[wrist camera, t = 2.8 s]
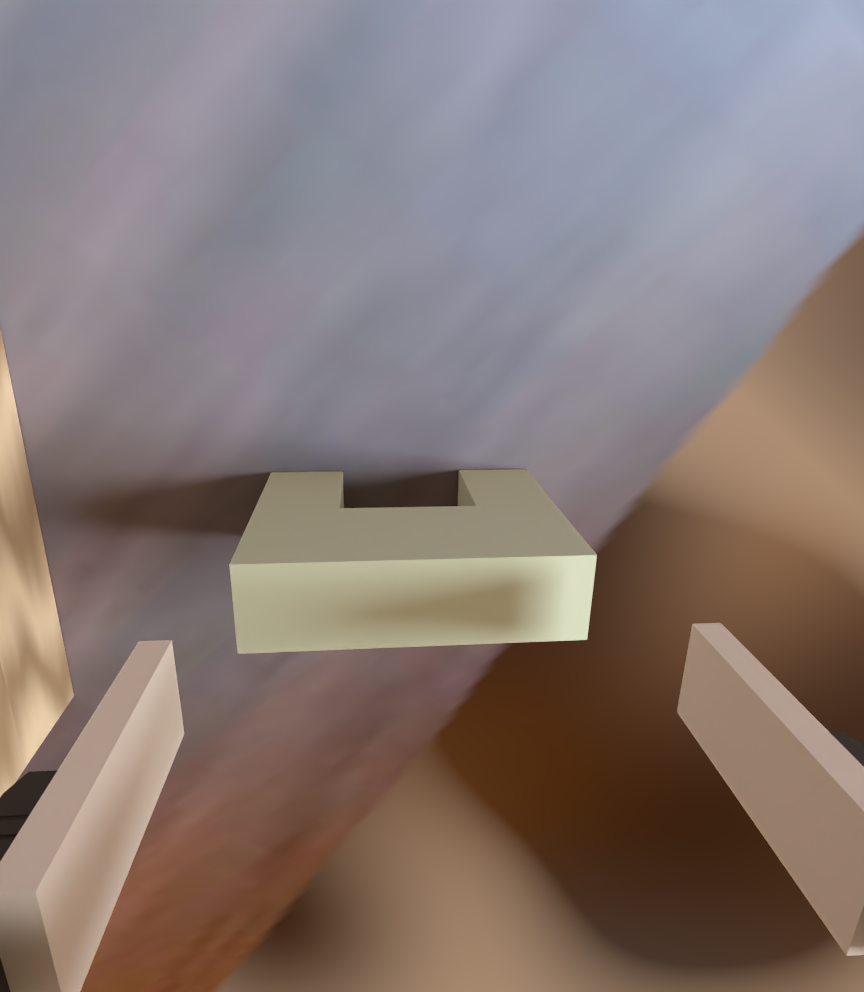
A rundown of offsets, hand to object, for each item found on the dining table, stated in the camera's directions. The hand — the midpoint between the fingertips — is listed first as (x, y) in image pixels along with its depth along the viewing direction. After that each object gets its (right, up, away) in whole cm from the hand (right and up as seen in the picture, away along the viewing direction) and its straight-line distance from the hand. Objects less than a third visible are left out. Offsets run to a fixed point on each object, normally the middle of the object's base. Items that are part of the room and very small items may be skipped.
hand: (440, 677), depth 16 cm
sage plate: (-2, +4, +12) cm, 13 cm away
